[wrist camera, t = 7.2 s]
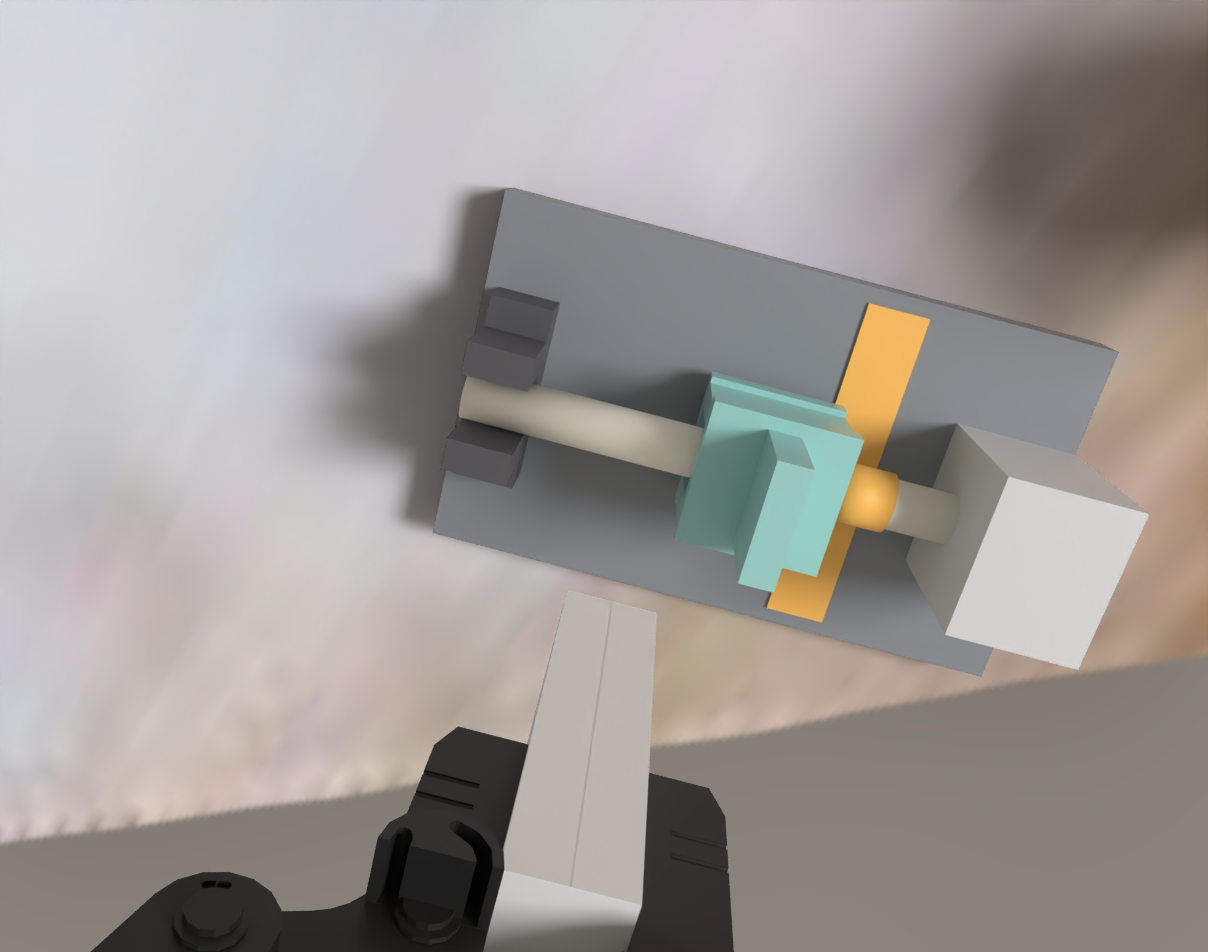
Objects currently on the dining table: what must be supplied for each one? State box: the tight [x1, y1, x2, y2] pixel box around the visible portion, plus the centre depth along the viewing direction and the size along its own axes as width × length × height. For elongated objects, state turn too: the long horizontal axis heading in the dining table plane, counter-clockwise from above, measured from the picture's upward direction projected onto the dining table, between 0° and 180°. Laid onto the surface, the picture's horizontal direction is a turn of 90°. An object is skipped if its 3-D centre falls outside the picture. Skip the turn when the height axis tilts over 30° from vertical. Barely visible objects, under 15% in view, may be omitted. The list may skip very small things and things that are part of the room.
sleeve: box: [674, 371, 864, 593], centre depth 30 cm, size 4×4×7 cm
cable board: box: [433, 188, 1149, 677], centre depth 32 cm, size 12×20×7 cm, turn 76°
